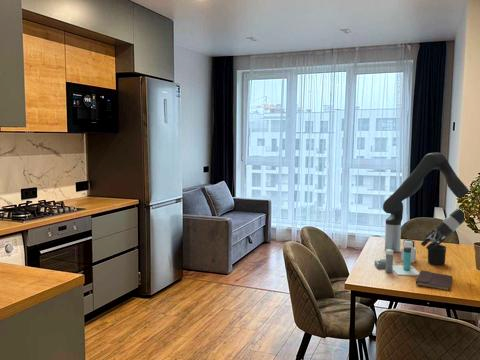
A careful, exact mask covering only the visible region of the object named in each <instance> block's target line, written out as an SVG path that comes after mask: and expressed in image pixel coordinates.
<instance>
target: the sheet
mask: <svg viewBox="0 0 480 360" xmlns="http://www.w3.org/2000/svg"><path fill="white" fill-rule="evenodd" d="M393 272H394V273H395V274H396V275H397V276H404V277H405V276H406V277H407V276H411V277H412V276H414V277H418V276H419V274H420V271H418V270H417V269H416V268H415V267H414V266H412V265H411V267H410V271H405V270H403V265H393Z"/></svg>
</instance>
